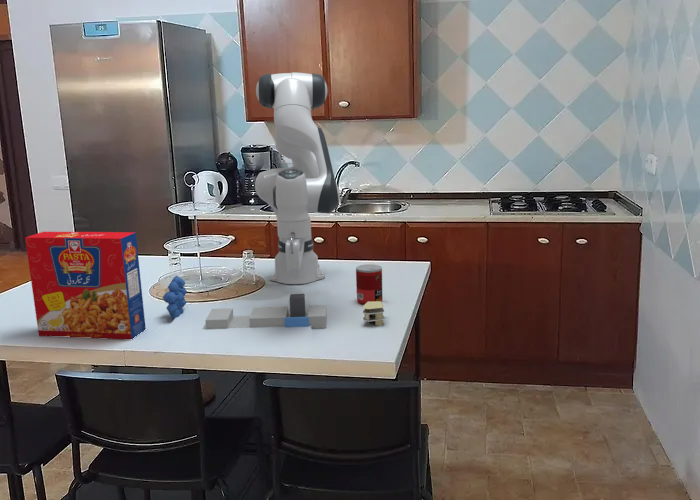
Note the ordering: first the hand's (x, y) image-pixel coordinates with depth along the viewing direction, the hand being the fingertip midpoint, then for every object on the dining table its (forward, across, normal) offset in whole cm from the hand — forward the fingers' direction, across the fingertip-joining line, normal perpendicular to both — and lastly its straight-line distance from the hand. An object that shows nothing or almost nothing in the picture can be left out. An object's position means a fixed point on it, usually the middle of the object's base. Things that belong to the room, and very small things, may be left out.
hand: (296, 278), depth 193 cm
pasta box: (+13, -2, +57) cm, 59 cm away
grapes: (+13, +10, +37) cm, 41 cm away
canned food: (+13, +18, -21) cm, 31 cm away
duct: (+13, 0, +9) cm, 16 cm away
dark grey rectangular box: (+12, 0, 0) cm, 12 cm away
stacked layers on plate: (+14, -2, -21) cm, 25 cm away
